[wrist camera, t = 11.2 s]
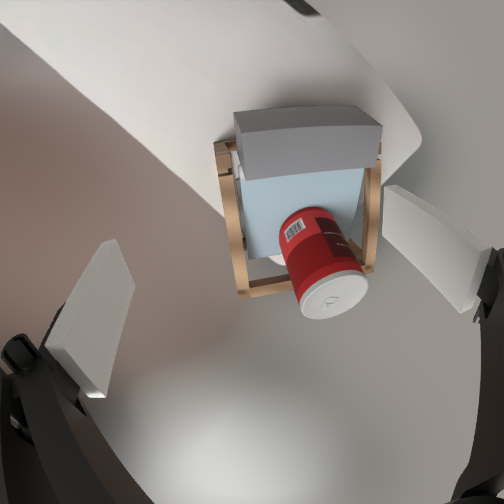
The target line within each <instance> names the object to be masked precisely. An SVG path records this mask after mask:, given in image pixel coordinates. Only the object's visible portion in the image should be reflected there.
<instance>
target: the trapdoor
mask: <svg viewBox="0 0 504 504" xmlns="http://www.w3.org/2000/svg"><path fill="white" fill-rule="evenodd" d="M233 114H234V124H235V133H236V143H237V153H238V156H239V160H240V163H241V165H238V172H239V180H240V189H241V198H242V207H243V216H244V226H245V235H246V244H247V253H248V258H249V259H256V258H261V257H267V256H273V255H279V254H282V251H281V248H280V245H279V231H280V228H281V226H282V224H283V223H284V221H285V220H286V219H287V218H288V217H289V216H290V215H292V214H293V213H295V212H296V211H299V210H301V209H304V208H308V207H318V208H322V209H324V210H326V211H327V212H328V213H330V214H331V215H332V216H333V217H334V219H335V221H336V223H337V224H338V226H339V228H340V229H341V231H342V233H343V235H344V236H345V238H346V240H347V242H349V238H350V234H351V229H352V225H353V221H354V217H355V212H356V208H357V203H358V199H359V194H360V189H361V184H362V179H363V174H364V169H365V168H374V167H375V166H376V161H377V156H378V151H379V145H380V140H381V134H382V128H383V126H382V125H381V124H380V123H378V122H377V121H376V120H374V119H373V118H372V117H370V116H369V115H367V114H366V113H365V112H363V111H362V110H360V109H359V108H358V107H356V106H301V107H283V108H270V109H259V110H250V111H241V112H233Z"/></svg>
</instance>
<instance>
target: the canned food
mask: <svg viewBox="0 0 504 504" xmlns="http://www.w3.org/2000/svg"><path fill="white" fill-rule="evenodd" d="M279 245H280V248H281V251H282V254H283V257H284V260H285V263H286V266H287V270H288V273H289V276H290V279H291V282H292V285H293V288H294V291H295V295H296V297H297V300H298V303H299V306H300V309H301V311H302V313H303V315H305V316H306V317H308V318H311V319H325V318H330V317H333V316H336V315H338V314H341V313H343V312H345V311H347V310H348V309H350V308H351V307H353V306H354V305H356V304H357V303H358V302H359V301H360V300H361V299H362V298H363V297H364V295H365V294H366V292H367V289H368V281H367V278H366V276H365V274H364V272H363V270H362V268H361V266H360V264H359V262H358V260H357V258H356V256H355V255H354V253H353V251H352V249H351V247H350V245H349V244H348V242H347V240H346V238H345V236H344V235H343V233H342V231H341V229H340V228H339V226H338V224H337V223H336V221H335V219H334V217H333V216H332V215H331V214H330V213H328V212H327V211H326V210H324V209H322V208H318V207H308V208H304V209H301V210H299V211H296V212H295V213H293V214H292V215H290V216H289V217H288V218H287V219H286V220H285V221H284V223H283V224H282V226H281V228H280V231H279Z"/></svg>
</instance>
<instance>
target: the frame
mask: <svg viewBox="0 0 504 504" xmlns="http://www.w3.org/2000/svg"><path fill="white" fill-rule="evenodd" d="M214 150H215V158H216V164H217V170H218V177H219V184H220V190H221V196H222V202H223V208H224V215H225V220H226V226H227V232H228V238H229V244H230V250H231V256H232V261H233V267H234V273H235V279H236V284H237V290H238V295H239V299H245V298H251V297H257V296H262V295H267V294H273V293H278V292H283V291H288V290H294V288H293V285H292V282H291V279H290V276H289V274H286V275H281V276H276V277H270V278H265V279H260V280H254V281H248V275H247V268H246V262H245V255H244V251H247V244H246V235H245V226H244V216H243V207H242V198H241V189H240V180H239V179H235V180H236V187H237V194H238V201H239V208H240V215H241V222H242V229H243V236H244V238H242V234H241V228H240V221H239V214H238V207H237V200H236V193H235V186H234V179H233V174H232V172H228V168H232V165H231V158H230V153H229V152H231V151H237V143H236V139H235V140H228V141H222V142H216V143H214ZM378 154H381V142H380V145H379V151H378ZM380 189H381V160H380V159H377V161H376V166H375V167H374V168H365V187H364V219H363V236H362V249H360V248H359V247H358V246H357V245H356V244H355V243H354V242H353V241H352V240H351V239H350V238H349V242H348V244H349V245H350V247H351V249H352V251H353V253H354V255H355V256H356V258H357V260H358V262H359V264H360V266H361V268H362V270H363V272H364V274H368V273H372V272H373V271H374V263H375V255H376V245H377V236H378V224H379V209H380Z"/></svg>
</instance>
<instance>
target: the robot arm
mask: <svg viewBox="0 0 504 504" xmlns="http://www.w3.org/2000/svg"><path fill="white" fill-rule="evenodd" d="M382 236H383V237H385V238H386V239H387V240H388V241H389V242H390V243H391V244H392V245H393V246H394V247H396V249H398V250H399V251H400V252H401V253H402V254H403V255H404V256H405V257H406V258H407V259H408V260H409V261H410V262H411V263H412V264H413V265H414V266H415V267H416V268H418V270H419V271H420V272H421V273H422V274H423V275H425V277H426V278H427V279H428V280H429V281H430V282H431V283H432V284H433V285H434V286H435V287H436V288H437V289H438V290H439V291H440V292H441V293H442V294H443V295H444V296H445V298H446V299H447V300H448V301H449V302H450V303H451V304H452V305H453V306H454V307H455V308H456V310H457V311H458V312H459V313H462V312H464V311H466V310H468V309H470V308H472V306H473V304H474V301H475V299H476V296H477V295H478V296H479V297H480V299H481V302H480V305H479V307H478V309H477V312H476V314H475V316H474V319H473V322H474V323H475V322H476V319H477V318H478V317H480V320H479V322H478V323H480V330H481V380H480V396H479V406H478V415H477V423H476V430H475V435H474V441H473V446H472V451H471V456H470V460H469V463H468V465H467V467H466V468H465V470H464V471H463V473H462V474H461V476H460V478H459V479H458V482H457V484H456V487H455V489H454V492H453V496H452V498H451V501H450V502H448V503H446V504H504V499H502V498H498V497H496V496H497V494H498V493H499V492H500V491H501V490H503V489H504V248H502V249H499V250H498V251H497V250H495V249H494V248H493V247H491V246H490V245H489V244H487V243H486V242H485V241H483V240H482V239H481V238H479V237H478V236H476V235H475V234H474V233H472V232H471V231H470V230H468V229H467V228H465V227H464V226H462V225H461V224H460V223H458V222H456V221H455V220H454V219H452V218H451V217H449V216H447V215H446V214H444V213H443V212H441V211H440V210H438V209H437V208H435V207H433V206H432V205H430V204H428V203H427V202H425V201H424V200H422V199H420V198H418V197H417V196H415V195H413V194H412V193H410V192H408V191H406V190H405V189H403V188H401V187H399V186H397V185H391V186H385V187H384V211H383V228H382ZM134 290H135V284H134V281H133V279H132V277H131V275H130V272H129V270H128V268H127V265H126V263H125V260H124V258H123V255H122V253H121V250H120V248H119V245H118V243H117V240H116V239H113V240H109V241H105V242H102V244H101V245H100V247H99V248H98V250H97V251H96V253H95V254H94V256H93V257H92V259H91V261H90V262H89V264H88V265H87V267H86V269H85V270H84V272H83V274H82V275H81V277H80V279H79V280H78V282H77V284H76V286H75V287H74V289H73V291H72V293H71V295H70V296H69V298H68V300H67V302H65V303H64V304H63V305H62V307H61V308H60V309H59V310H58V311H57V313H56V315H55V317H54V319H53V321H52V323H51V325H50V329H48V331H47V333H46V335H45V337H44V339H43V341H42V343H41V345H40V347H39V349H38V350H37V348H36V347H35V346H34V345H33V343H32V342H31V341H30V339H29V338H28V336H26V334H23V333H22V334H18V335H16V336H14V337H12V338H11V339H10V340H9V341H8V342H7V343H6V345H5V346H4V348H3V350H2V352H1V358H2V359H3V361H4V362H5V363H6V364H7V365H8V367H9V368H10V369H11V370H12V371H13V372H14V373H12V374H9V375H7V374H6V373H5V371H4V370H3V369H2V368H1V367H0V504H154V503H153V502H152V500H151V499H150V498H149V497H148V496H147V495H146V493H145V492H144V491H143V490H142V489H141V488H140V486H139V485H138V484H137V483H136V481H135V480H134V479H133V478H132V476H131V475H130V474H129V472H128V471H127V470H126V468H125V467H124V466H123V464H122V463H121V462H120V460H119V459H118V457H117V456H116V455H115V453H114V452H113V450H112V449H111V447H110V446H109V444H108V443H107V441H106V440H105V438H104V436H103V435H102V433H101V432H100V430H99V429H98V427H97V425H96V423H95V422H94V420H93V419H92V417H91V415H90V413H89V411H88V410H87V408H86V406H85V404H84V402H83V401H82V400H81V399H80V398H79V397H78V394H79V390H80V388H81V389H82V390H83V392H84V393H85V394H86V395H87V396H88V397H106V395H107V390H108V385H109V381H110V376H111V372H112V368H113V364H114V359H115V355H116V351H117V348H118V343H119V340H120V336H121V333H122V329H123V325H124V322H125V319H126V315H127V312H128V309H129V305H130V302H131V299H132V296H133V293H134ZM10 417H11V418H12V419H13V420H15V422H17V426H18V427H17V428H15V427H13V426H12V425H11V421H10Z"/></svg>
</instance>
